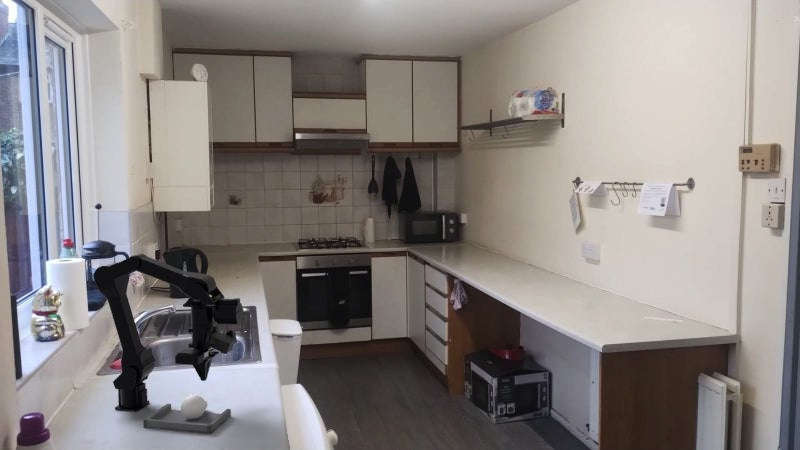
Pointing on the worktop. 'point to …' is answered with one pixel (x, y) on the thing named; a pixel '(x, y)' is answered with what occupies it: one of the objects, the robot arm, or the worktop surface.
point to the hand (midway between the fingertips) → (203, 380)
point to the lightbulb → (193, 406)
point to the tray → (185, 421)
